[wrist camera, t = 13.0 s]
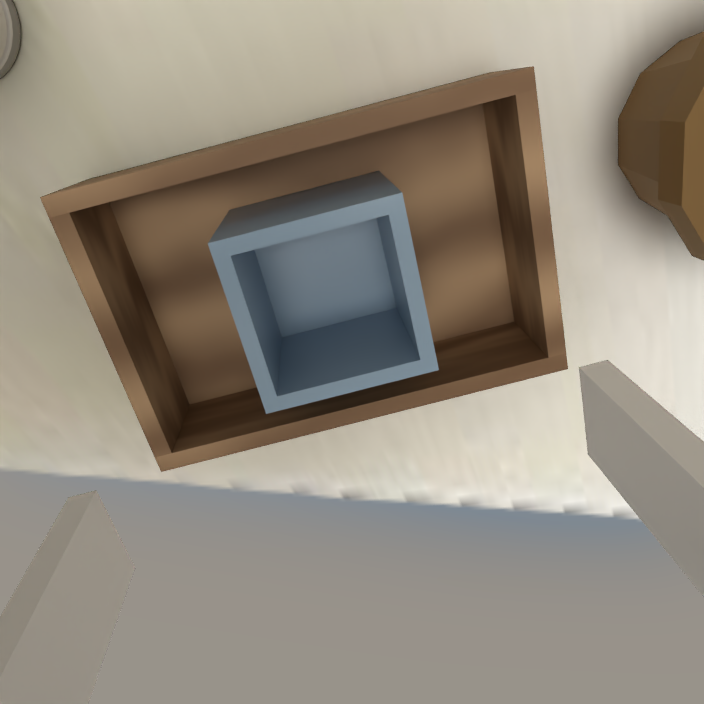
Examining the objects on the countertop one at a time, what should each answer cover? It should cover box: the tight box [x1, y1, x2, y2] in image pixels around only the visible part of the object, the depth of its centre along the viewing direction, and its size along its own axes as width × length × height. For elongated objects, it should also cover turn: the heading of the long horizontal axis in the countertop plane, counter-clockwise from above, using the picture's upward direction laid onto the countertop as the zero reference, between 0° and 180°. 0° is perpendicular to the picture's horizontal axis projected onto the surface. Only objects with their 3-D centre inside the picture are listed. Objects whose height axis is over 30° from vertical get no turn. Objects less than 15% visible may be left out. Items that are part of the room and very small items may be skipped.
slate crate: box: [208, 171, 439, 414], centre depth 33 cm, size 9×9×9 cm
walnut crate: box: [40, 66, 568, 472], centre depth 35 cm, size 16×24×7 cm, turn 104°
